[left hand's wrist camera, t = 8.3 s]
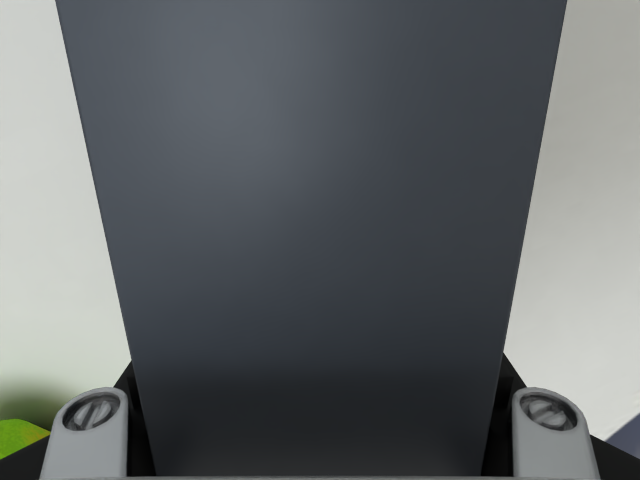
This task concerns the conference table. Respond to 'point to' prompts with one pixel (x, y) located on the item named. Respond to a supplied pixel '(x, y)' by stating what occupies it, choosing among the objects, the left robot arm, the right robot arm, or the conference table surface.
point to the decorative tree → (18, 435)
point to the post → (314, 220)
